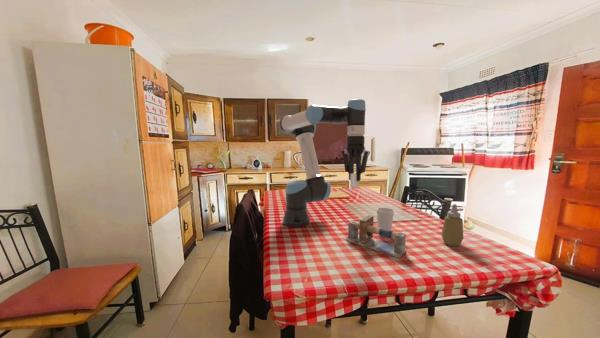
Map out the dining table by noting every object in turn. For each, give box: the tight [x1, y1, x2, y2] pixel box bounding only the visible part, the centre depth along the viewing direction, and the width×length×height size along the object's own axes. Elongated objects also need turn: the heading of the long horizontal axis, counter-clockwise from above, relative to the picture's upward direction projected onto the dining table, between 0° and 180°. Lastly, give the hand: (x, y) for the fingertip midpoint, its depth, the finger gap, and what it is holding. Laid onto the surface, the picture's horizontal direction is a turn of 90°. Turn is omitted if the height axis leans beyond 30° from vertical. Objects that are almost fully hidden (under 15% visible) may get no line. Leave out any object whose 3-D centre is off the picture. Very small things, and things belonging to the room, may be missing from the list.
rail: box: [345, 220, 407, 259], centre depth 98 cm, size 24×8×8 cm, turn 48°
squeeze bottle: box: [441, 203, 464, 247], centre depth 99 cm, size 8×8×18 cm
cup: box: [376, 206, 395, 231], centre depth 111 cm, size 8×8×12 cm
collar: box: [358, 214, 375, 243], centre depth 100 cm, size 2×8×10 cm, turn 138°
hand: (354, 187), depth 102 cm, fingers closed
